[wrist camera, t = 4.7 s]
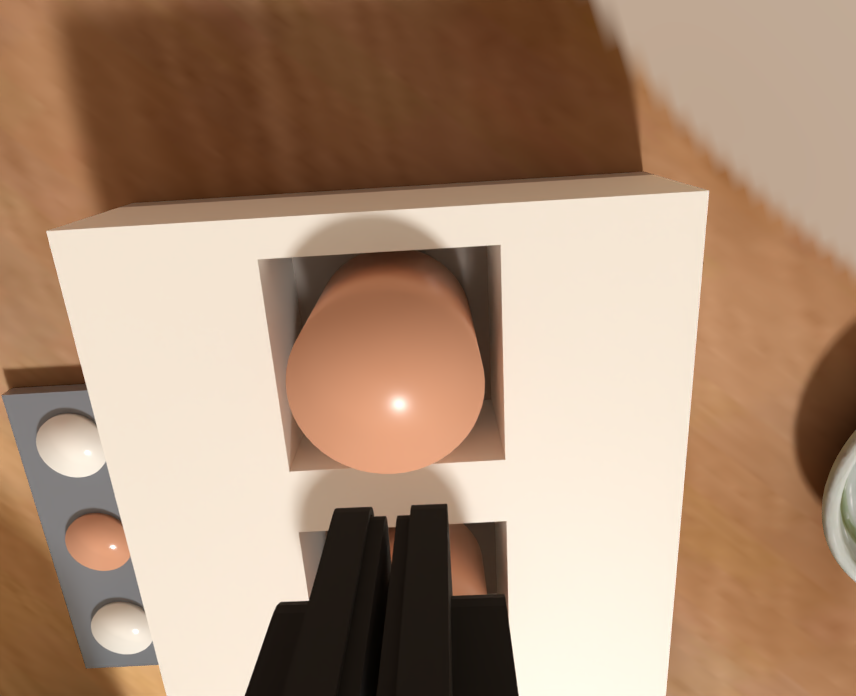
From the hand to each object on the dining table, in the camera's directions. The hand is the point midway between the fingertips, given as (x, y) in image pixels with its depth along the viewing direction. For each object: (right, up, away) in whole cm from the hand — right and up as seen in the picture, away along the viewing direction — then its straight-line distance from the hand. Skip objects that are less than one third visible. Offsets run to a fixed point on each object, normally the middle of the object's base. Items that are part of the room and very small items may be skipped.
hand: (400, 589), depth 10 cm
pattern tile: (-12, -3, +15) cm, 19 cm away
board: (0, -3, +15) cm, 15 cm away
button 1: (-1, +4, +11) cm, 12 cm away
